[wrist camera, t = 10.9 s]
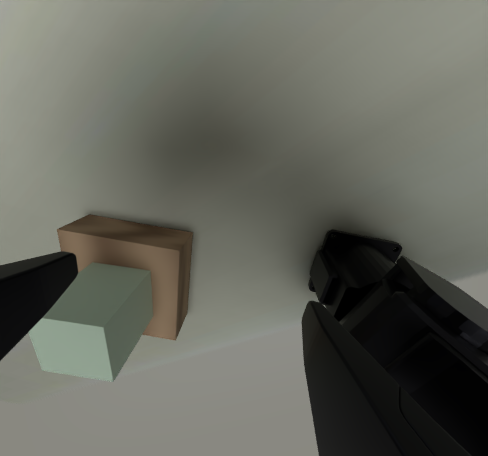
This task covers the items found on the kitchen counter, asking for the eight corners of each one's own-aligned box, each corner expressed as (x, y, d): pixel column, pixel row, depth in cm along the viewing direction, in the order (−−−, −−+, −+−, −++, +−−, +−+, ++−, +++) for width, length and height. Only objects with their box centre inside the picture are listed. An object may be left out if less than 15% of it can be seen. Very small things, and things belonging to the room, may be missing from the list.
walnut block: (193, 230, 22) (179, 250, 18) (188, 310, 25) (175, 340, 22) (92, 213, 22) (56, 229, 18) (102, 295, 26) (74, 322, 22)
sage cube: (150, 270, 19) (103, 327, 13) (153, 315, 21) (113, 382, 15) (92, 262, 19) (22, 314, 13) (100, 308, 21) (42, 370, 15)
